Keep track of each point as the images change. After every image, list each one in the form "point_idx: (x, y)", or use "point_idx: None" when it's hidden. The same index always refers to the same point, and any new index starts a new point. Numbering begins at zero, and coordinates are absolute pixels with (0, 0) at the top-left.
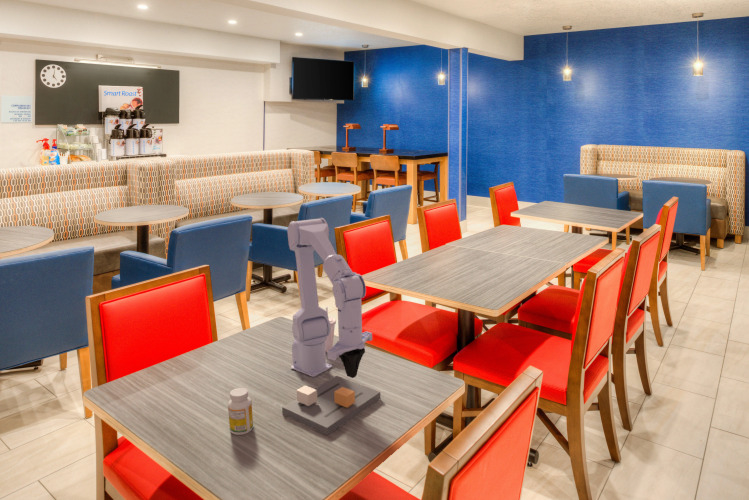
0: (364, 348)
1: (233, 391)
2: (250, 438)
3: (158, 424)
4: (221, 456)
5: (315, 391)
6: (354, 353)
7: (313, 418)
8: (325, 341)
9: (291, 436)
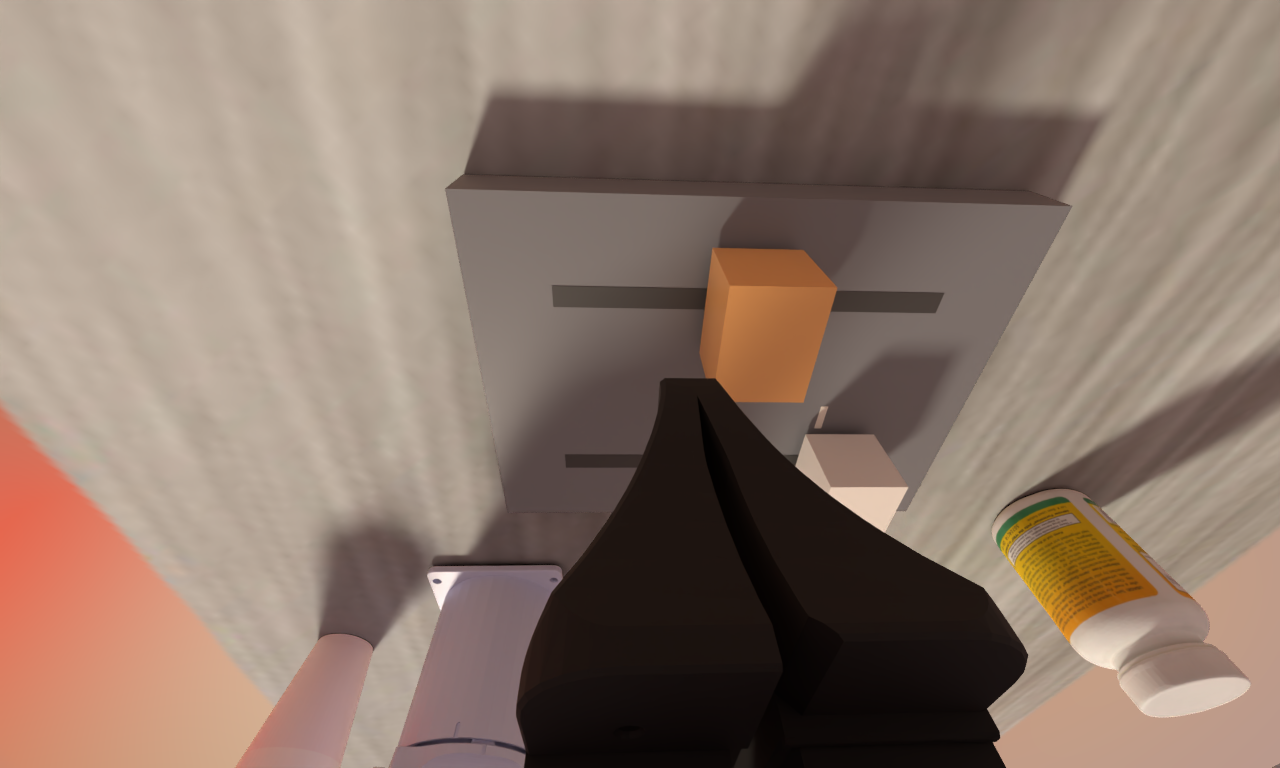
0: (533, 696)
1: (1191, 710)
2: (1102, 459)
3: (1049, 657)
4: (1246, 456)
5: (839, 483)
6: (852, 684)
7: (974, 343)
8: (340, 694)
9: (1065, 345)
